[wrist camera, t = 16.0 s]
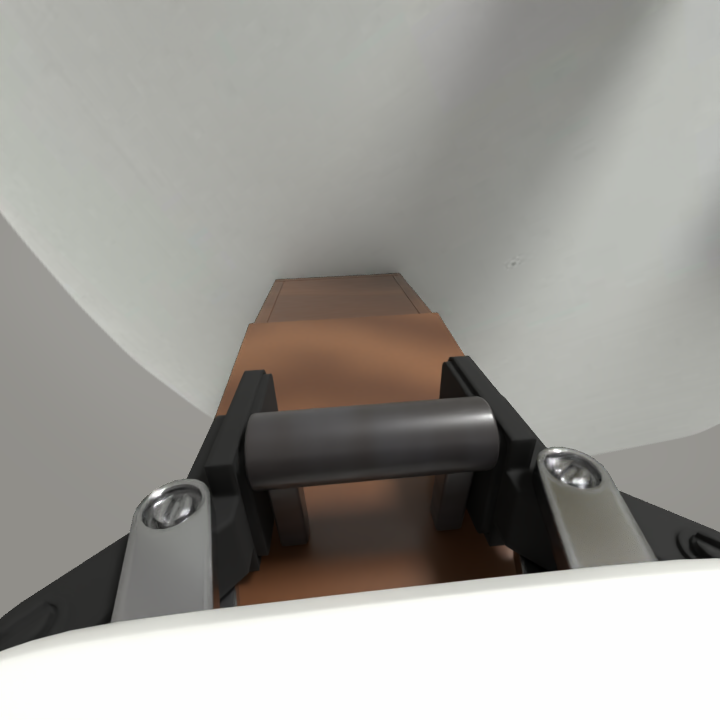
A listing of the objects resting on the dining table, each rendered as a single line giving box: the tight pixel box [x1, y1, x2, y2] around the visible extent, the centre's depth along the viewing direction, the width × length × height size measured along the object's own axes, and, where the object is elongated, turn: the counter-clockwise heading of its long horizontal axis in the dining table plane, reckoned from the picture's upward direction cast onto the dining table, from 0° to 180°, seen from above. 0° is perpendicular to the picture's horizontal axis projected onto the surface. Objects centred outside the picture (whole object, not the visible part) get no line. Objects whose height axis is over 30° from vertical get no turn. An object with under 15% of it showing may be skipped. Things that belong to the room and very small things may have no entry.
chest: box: [254, 273, 432, 323], centre depth 28 cm, size 14×11×11 cm
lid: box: [214, 313, 517, 606], centre depth 13 cm, size 14×11×5 cm
